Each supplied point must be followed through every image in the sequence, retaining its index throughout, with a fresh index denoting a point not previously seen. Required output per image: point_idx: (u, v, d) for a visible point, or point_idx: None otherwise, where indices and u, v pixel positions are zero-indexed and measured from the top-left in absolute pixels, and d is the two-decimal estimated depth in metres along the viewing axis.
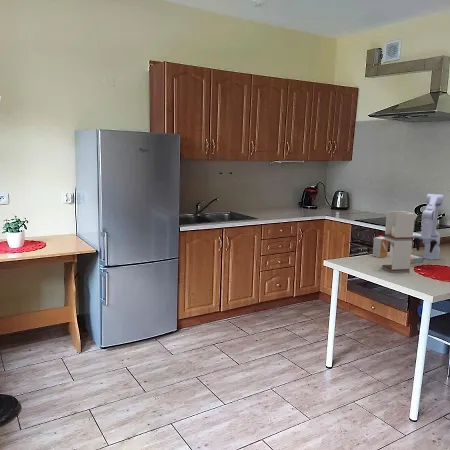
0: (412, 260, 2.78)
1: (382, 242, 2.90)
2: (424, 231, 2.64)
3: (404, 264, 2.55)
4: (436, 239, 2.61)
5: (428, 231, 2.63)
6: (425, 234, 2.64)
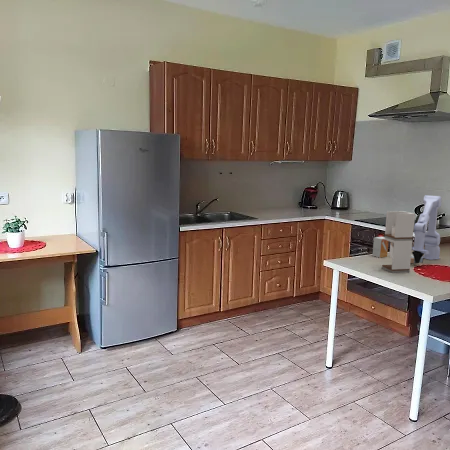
0: (412, 260, 2.78)
1: (382, 242, 2.90)
2: (415, 243, 2.70)
3: (404, 264, 2.55)
4: (425, 252, 2.65)
5: (418, 243, 2.68)
6: (415, 246, 2.70)
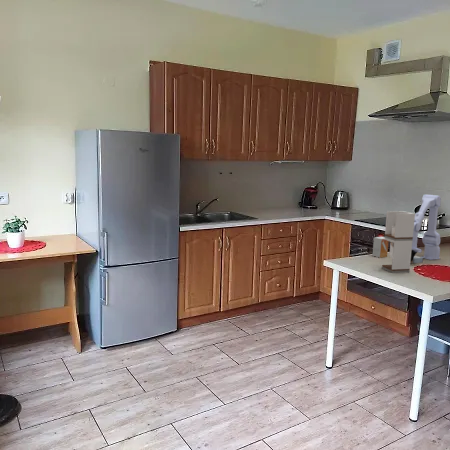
0: None
1: (382, 242, 2.90)
2: None
3: (404, 264, 2.55)
4: (418, 250, 2.70)
5: None
6: None
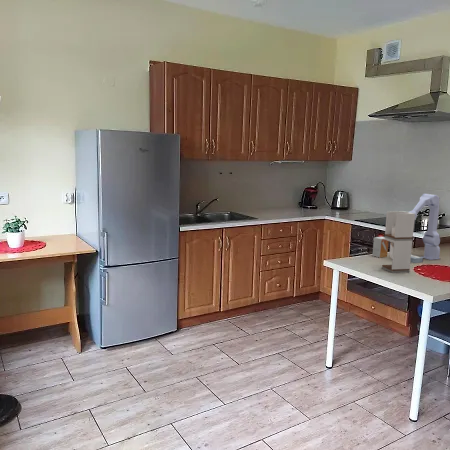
0: None
1: (382, 242, 2.90)
2: None
3: (404, 264, 2.55)
4: None
5: None
6: None
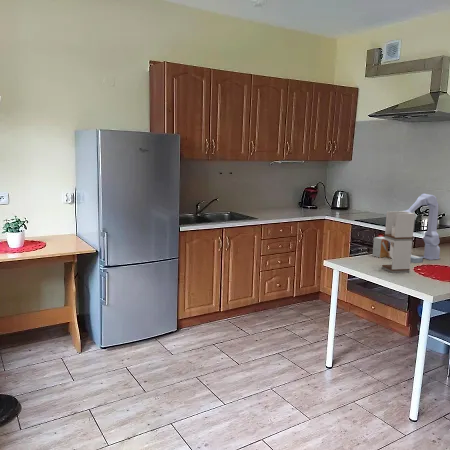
0: None
1: (382, 242, 2.90)
2: None
3: (404, 264, 2.55)
4: None
5: None
6: None
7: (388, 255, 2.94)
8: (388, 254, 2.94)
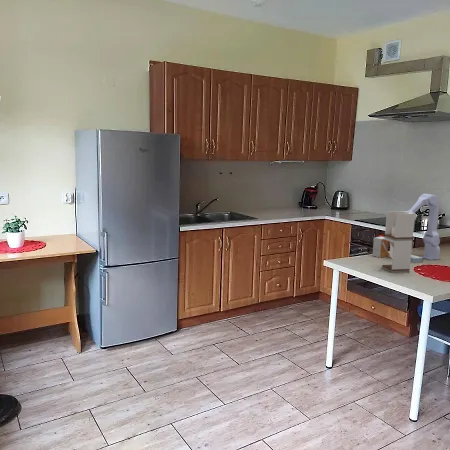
0: None
1: (382, 242, 2.90)
2: None
3: (404, 264, 2.55)
4: None
5: None
6: None
7: (388, 255, 2.95)
8: (388, 254, 2.95)
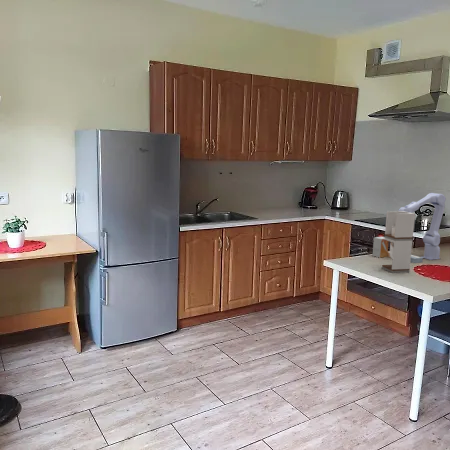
0: None
1: (382, 242, 2.90)
2: None
3: (404, 264, 2.55)
4: None
5: None
6: None
7: (388, 255, 2.95)
8: (388, 254, 2.95)
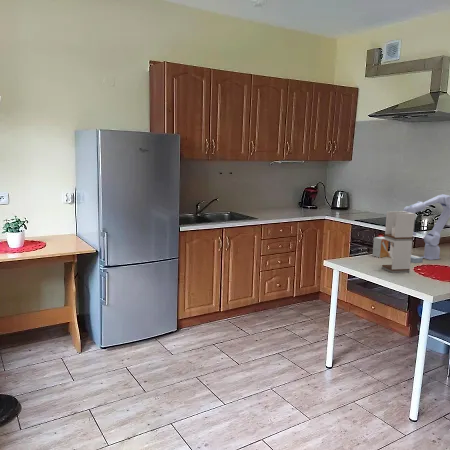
0: None
1: (382, 242, 2.90)
2: None
3: (404, 264, 2.55)
4: (413, 233, 2.84)
5: None
6: None
7: (388, 255, 2.95)
8: (388, 254, 2.95)
